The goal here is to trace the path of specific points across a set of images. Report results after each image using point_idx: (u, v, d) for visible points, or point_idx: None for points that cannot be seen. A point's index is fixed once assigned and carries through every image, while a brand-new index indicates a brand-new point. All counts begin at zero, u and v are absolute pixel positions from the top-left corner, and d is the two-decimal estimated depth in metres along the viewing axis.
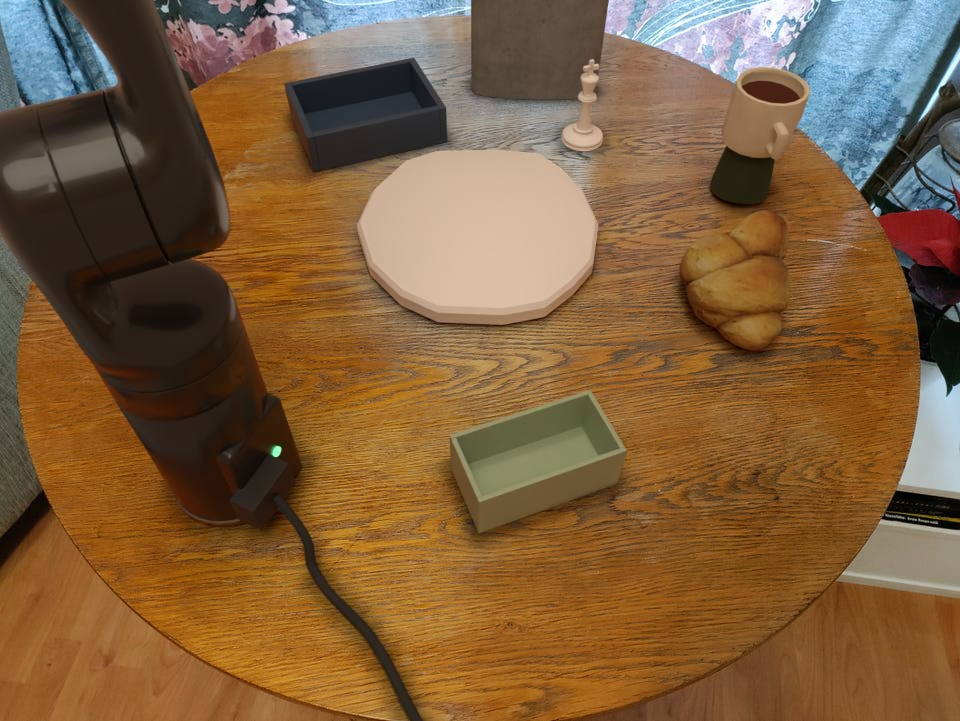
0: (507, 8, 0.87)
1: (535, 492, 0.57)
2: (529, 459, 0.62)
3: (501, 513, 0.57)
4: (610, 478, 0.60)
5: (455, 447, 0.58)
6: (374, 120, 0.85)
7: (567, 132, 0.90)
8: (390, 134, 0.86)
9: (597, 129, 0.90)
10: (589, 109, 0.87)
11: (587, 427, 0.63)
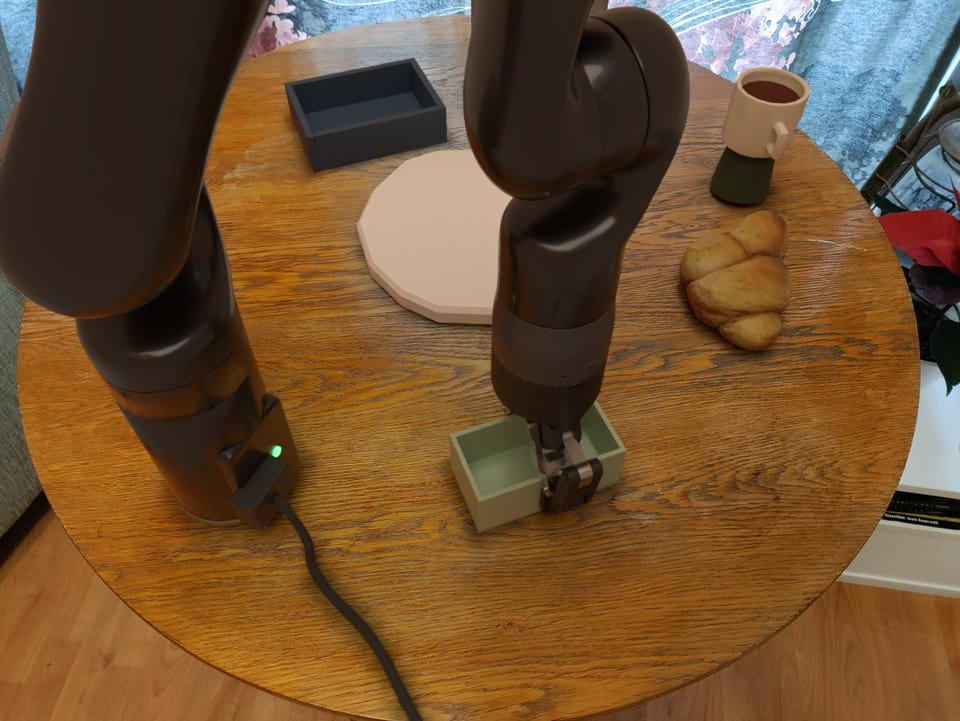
0: None
1: (535, 492, 0.57)
2: (529, 459, 0.62)
3: (501, 513, 0.57)
4: (610, 478, 0.60)
5: (455, 447, 0.58)
6: (374, 120, 0.85)
7: None
8: (390, 134, 0.86)
9: None
10: None
11: (587, 427, 0.63)
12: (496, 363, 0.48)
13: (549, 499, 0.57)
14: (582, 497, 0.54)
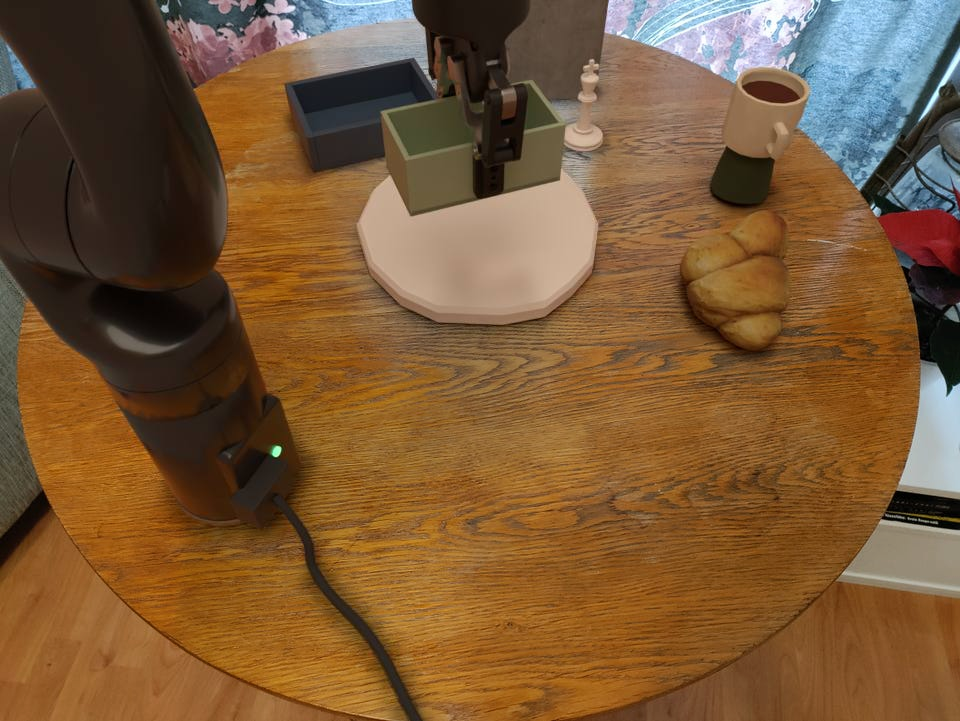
0: None
1: (468, 164, 0.54)
2: None
3: (433, 189, 0.55)
4: (551, 167, 0.57)
5: (385, 120, 0.55)
6: (374, 120, 0.85)
7: (567, 132, 0.90)
8: None
9: (597, 129, 0.90)
10: (589, 109, 0.87)
11: (531, 129, 0.60)
12: None
13: (481, 172, 0.54)
14: (511, 150, 0.51)
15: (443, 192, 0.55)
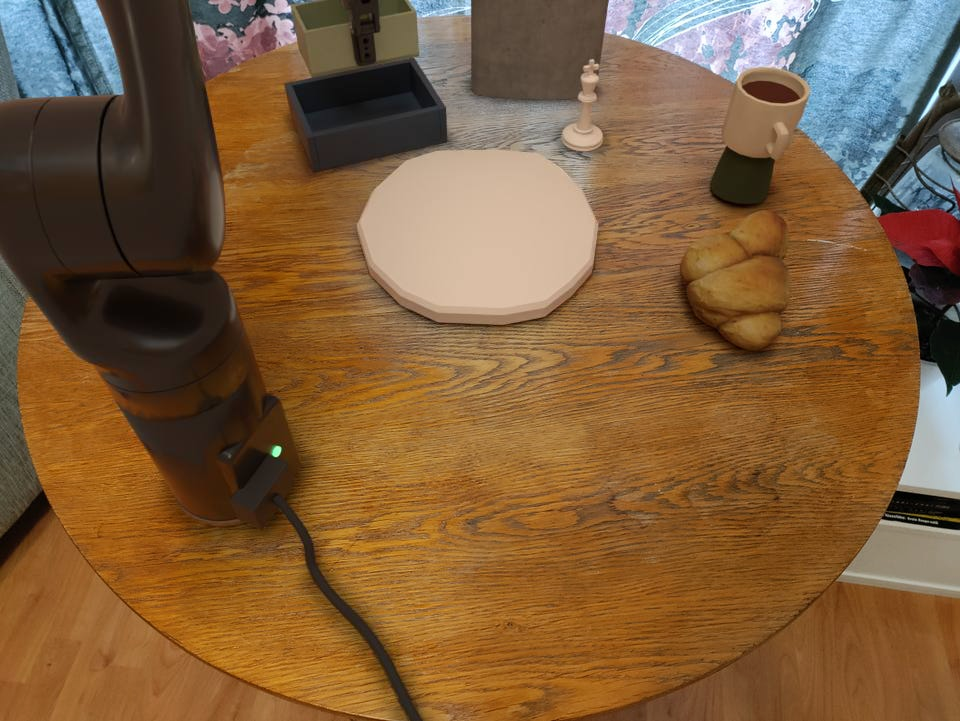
0: (507, 8, 0.87)
1: (349, 38, 0.79)
2: None
3: (326, 56, 0.80)
4: (411, 45, 0.82)
5: (293, 10, 0.80)
6: (374, 120, 0.85)
7: (567, 132, 0.90)
8: (390, 134, 0.86)
9: (597, 129, 0.90)
10: (589, 109, 0.87)
11: None
12: None
13: (358, 45, 0.79)
14: (373, 23, 0.76)
15: (334, 59, 0.80)
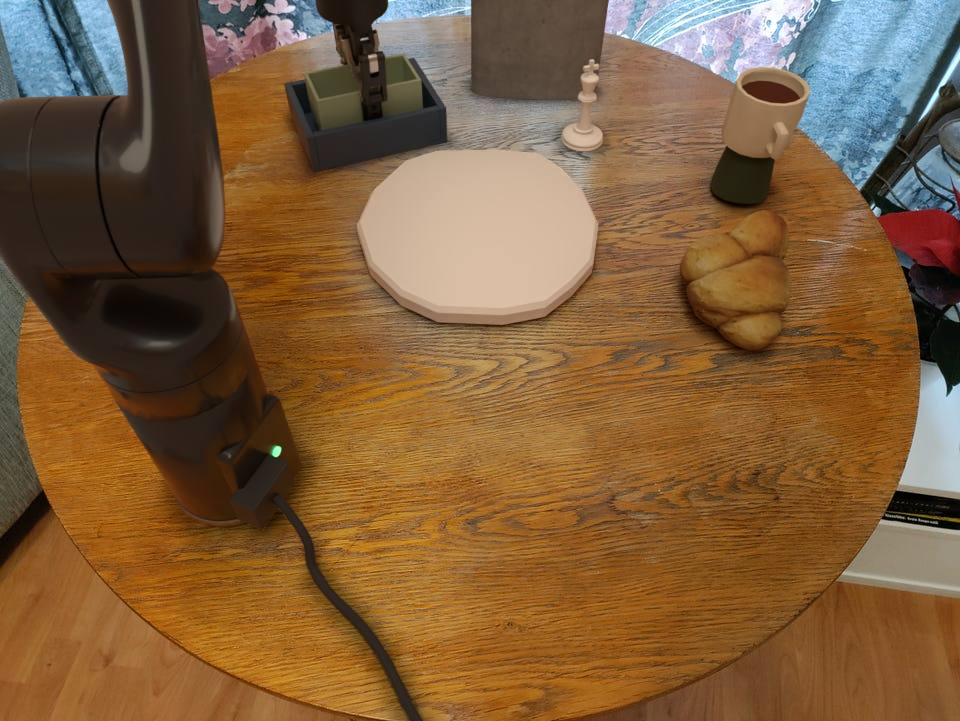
0: (507, 8, 0.87)
1: (358, 105, 0.85)
2: None
3: (337, 121, 0.86)
4: (416, 109, 0.88)
5: (306, 78, 0.86)
6: (374, 120, 0.85)
7: (567, 132, 0.90)
8: (390, 134, 0.86)
9: (597, 129, 0.90)
10: (589, 109, 0.87)
11: None
12: None
13: (366, 111, 0.85)
14: (381, 94, 0.82)
15: (344, 124, 0.86)
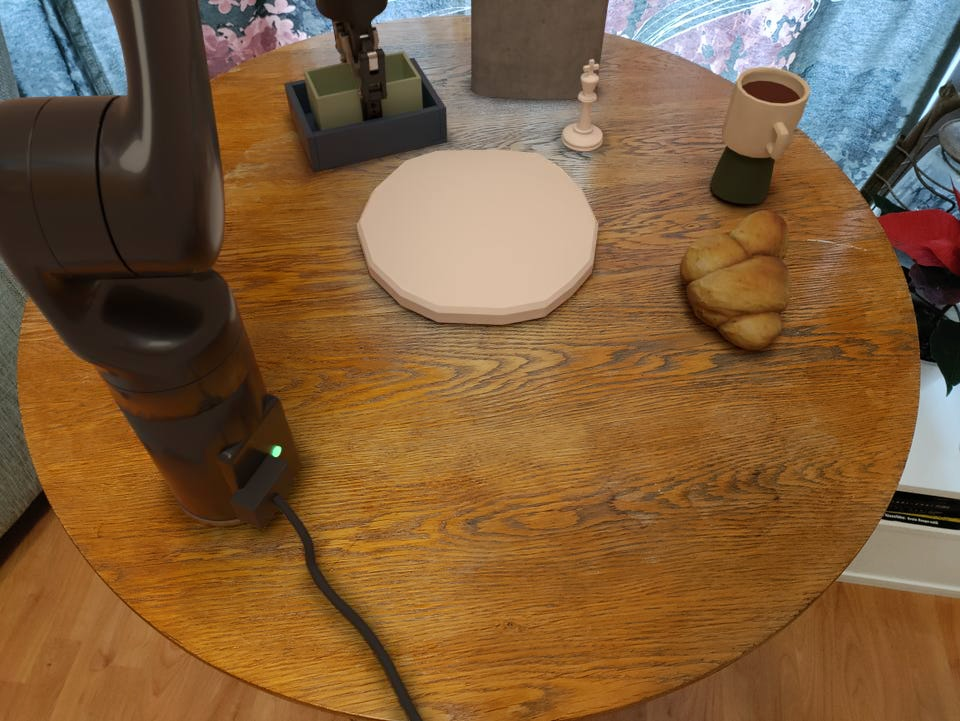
0: (507, 8, 0.87)
1: (358, 103, 0.85)
2: None
3: (336, 119, 0.86)
4: (415, 107, 0.88)
5: (306, 76, 0.86)
6: (374, 120, 0.85)
7: (567, 132, 0.90)
8: (390, 134, 0.86)
9: (597, 129, 0.90)
10: (589, 109, 0.87)
11: None
12: None
13: (366, 108, 0.85)
14: (380, 91, 0.82)
15: (343, 121, 0.86)
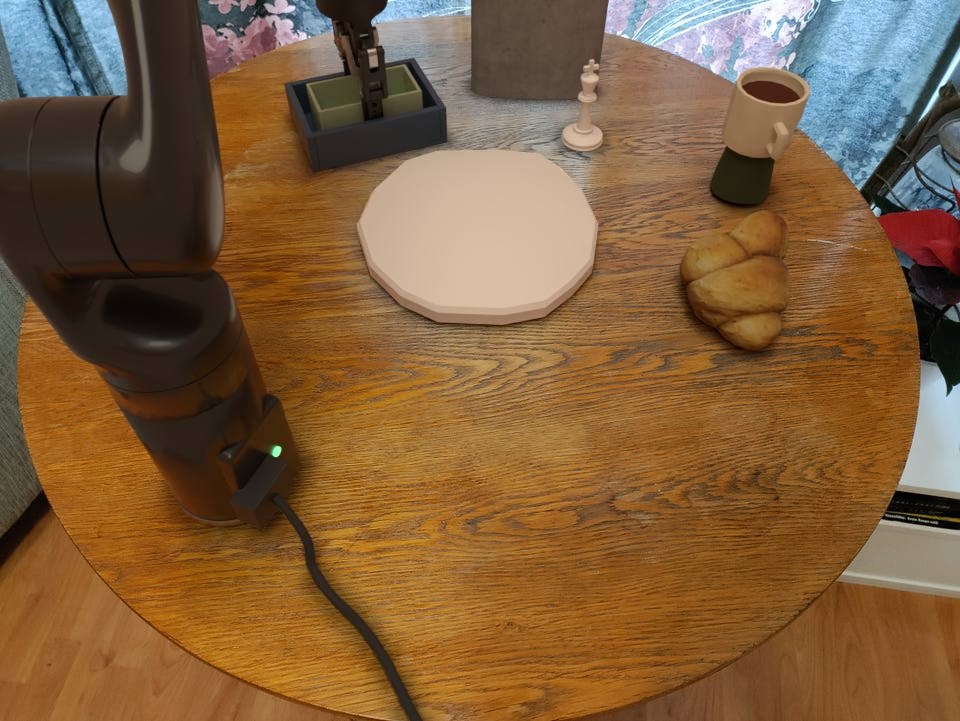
0: (507, 8, 0.87)
1: (360, 116, 0.86)
2: None
3: None
4: None
5: (308, 89, 0.87)
6: (374, 120, 0.85)
7: (567, 132, 0.90)
8: (390, 134, 0.86)
9: (597, 129, 0.90)
10: (589, 109, 0.87)
11: None
12: None
13: (367, 108, 0.85)
14: (381, 90, 0.81)
15: None
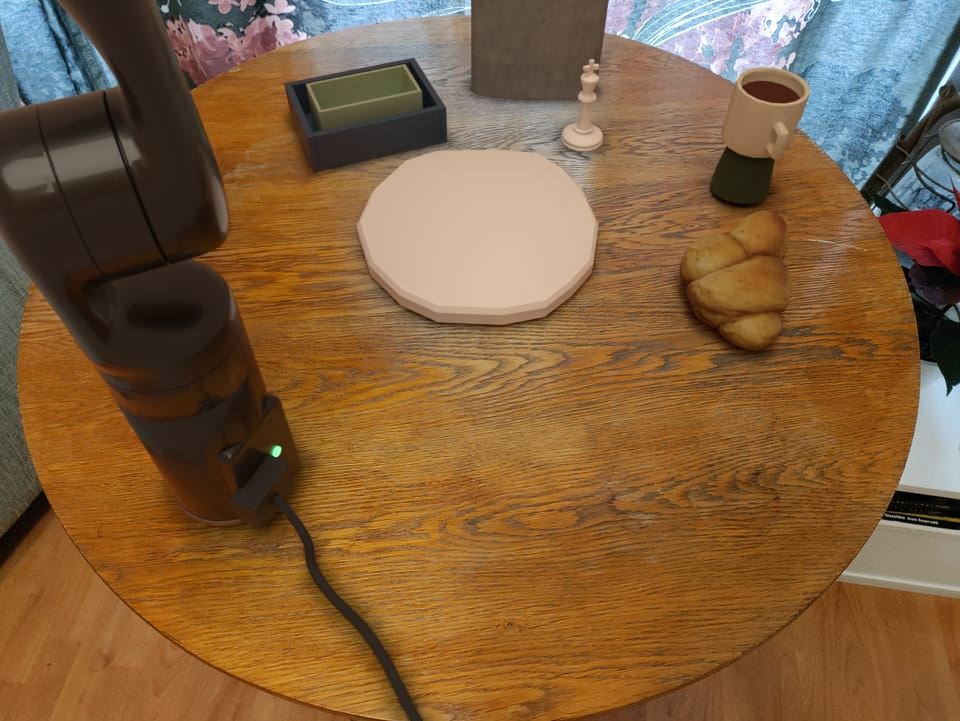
0: (507, 8, 0.87)
1: (360, 116, 0.86)
2: None
3: None
4: None
5: (308, 89, 0.87)
6: (374, 120, 0.85)
7: (567, 132, 0.90)
8: (390, 134, 0.86)
9: (597, 129, 0.90)
10: (589, 109, 0.87)
11: None
12: None
13: None
14: None
15: None
